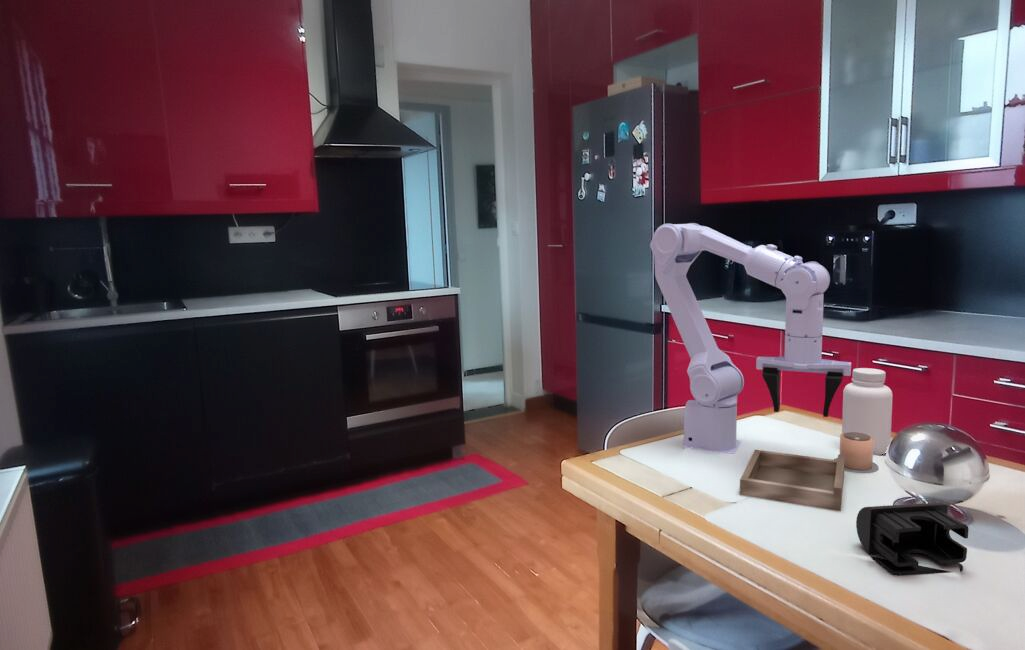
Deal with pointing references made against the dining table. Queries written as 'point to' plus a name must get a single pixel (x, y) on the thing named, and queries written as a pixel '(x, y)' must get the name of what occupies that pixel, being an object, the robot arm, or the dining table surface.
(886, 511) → the end cap
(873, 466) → the saucer
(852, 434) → the pot
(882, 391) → the pill bottle
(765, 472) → the wooden tray
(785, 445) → the dining table surface
